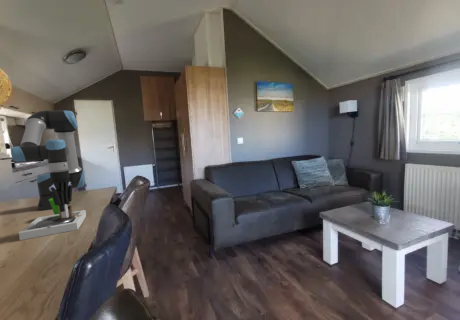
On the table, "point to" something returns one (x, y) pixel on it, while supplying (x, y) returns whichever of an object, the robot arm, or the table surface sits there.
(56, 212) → the cup
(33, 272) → the table surface
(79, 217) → the white square tray
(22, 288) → the table surface
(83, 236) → the table surface
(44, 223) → the dial
